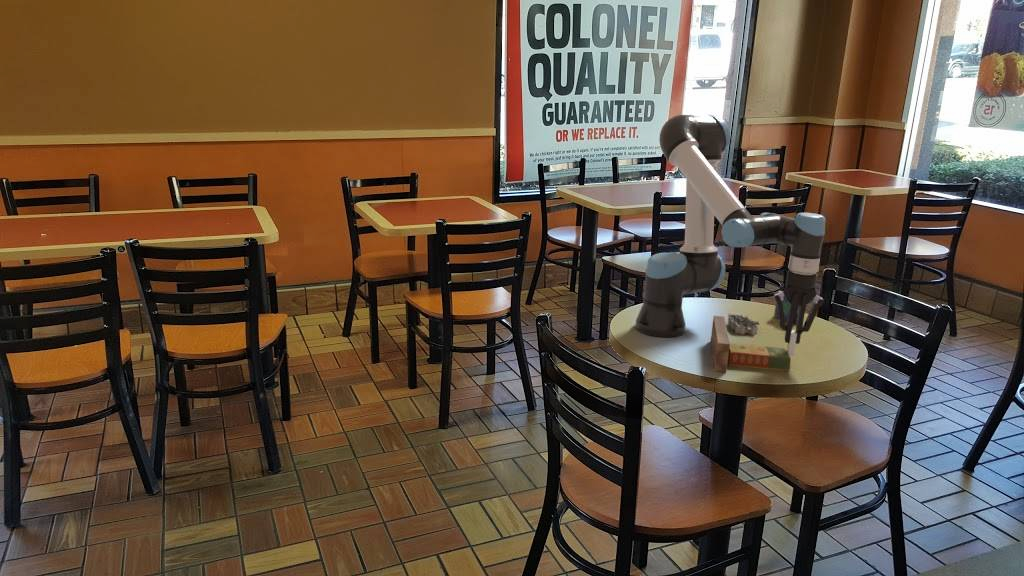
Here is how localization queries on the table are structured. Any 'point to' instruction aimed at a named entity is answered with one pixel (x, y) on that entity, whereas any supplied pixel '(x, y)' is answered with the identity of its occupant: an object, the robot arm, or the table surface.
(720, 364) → the board
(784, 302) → the flask
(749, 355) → the carton
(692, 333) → the table surface
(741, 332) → the egg carton
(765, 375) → the table surface
